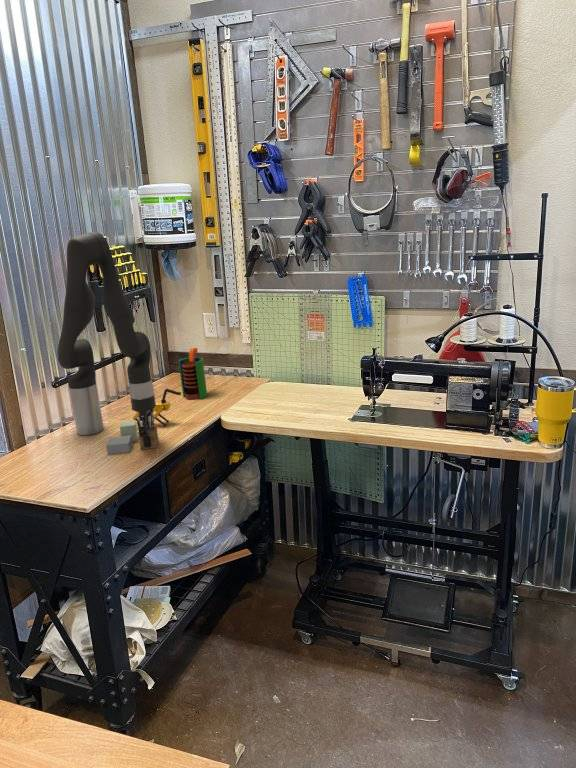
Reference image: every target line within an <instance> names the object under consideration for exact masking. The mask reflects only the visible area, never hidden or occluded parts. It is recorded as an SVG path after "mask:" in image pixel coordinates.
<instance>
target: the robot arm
mask: <svg viewBox="0 0 576 768" xmlns="http://www.w3.org/2000/svg"><path fill="white" fill-rule="evenodd" d="M93 265H98V268H99V270H100V272H101V275H102V276H101V277H102V283H103V284H102V285H103V287H102V302H103V303H102V304H103V306H104V309H105V312H106V314H107V317H108V318H109V320H110V322H111V324H112V326H113V330H114V336H115V339H116V343H117V346H118V349H119V350H120V352H121V353H122V355H124V356H125V357H127V358H129V359H130V362H129V364H128V365H127V368H126V370H127V371H126V372H127V378H128V379H127V380H128V389H129V396H130V403H131V409H132V411H134V412H136V411H137V412H139V416H138V418H137V419H138V421H136V425H137V430H138V432H139V433H140V437H143V443H144V447H151V440H150V429H151V426H155V424H156V423H155V419H154V412H153V409H154V408H155V407H156V403H155V402H156V398H155V389H154V384H153V382H152V375H151V369H150V364H151V363H150V362H151V344H150V340H149V337H148V336H147V334H145V333H144V332H142V331H135V328H134V324H135V320H136V318H135V315H134V313H133V311H132V309H131V306H130V305H129V303H128V300H127V298H126V296H125V294H124V290H123V288H122V285H121V281H120V277H119V274H118V271H117V267H116V265H115V261H114V258H113V255H112V251H111V248H110V246H109V243H108V241H107V239H106V238H105V236H104V235H103V234H101V233H100V232H98V231H91V232H87V233H84V234H83V233H82V234H79V235H76V236H73V237H71V238H70V239H69V241H68V242H67V246H66V285H65V286H66V287H65V294H64V295H65V296H64V305H63V319H62V325H61V326H62V327H61V332H60V336H59V340H58V344H57V361H58V364H59V365H60V367H62V368H63V369H66V370H72V369H76V368H79V369H78V371H77V372H75V374H73V375H72V376H70V377H69V378H68V380H67V385H68V391H69V395H70V400H71V406H72V411H73V418H74V423H75V428H76V433H77V435H80V436H91V435H95V434H98V433H100V432H102V431H103V430H104V429H105V428H104V421H103V416H102V409H101V403H100V398H99V392H98V387H97V380H96V377H97V375H96V374H97V373H96V367H95V358H94V352H93V347H92V344H91V343H90V341H89V340H87V339H86V338H79V336H80V335H81V334H82V332H83V331H85V329H86V328H87V326H88V325H89V324H90V323H91V321H92V319H93V317H94V315H95V308H96V296H95V294H94V292H93V290H92V288H91V287H90V286H89V284H88V282H87V271H88V269H89V267H91V266H93ZM78 338H79V339H78ZM137 412H136V413H137ZM147 426H148V427H147ZM144 431H145V432H146V433H144Z"/></svg>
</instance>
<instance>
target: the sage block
mask: <svg viewBox="0 0 576 768" xmlns="http://www.w3.org/2000/svg"><path fill="white" fill-rule="evenodd" d="M119 429H120V430H119V431H120V436H129V435H131V437H132V443H135V442H134V441H138V440H139V435H138V432H139V431H138V425H137V421H136V420H133V419H132V420H127V421H120V424H119Z"/></svg>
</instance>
